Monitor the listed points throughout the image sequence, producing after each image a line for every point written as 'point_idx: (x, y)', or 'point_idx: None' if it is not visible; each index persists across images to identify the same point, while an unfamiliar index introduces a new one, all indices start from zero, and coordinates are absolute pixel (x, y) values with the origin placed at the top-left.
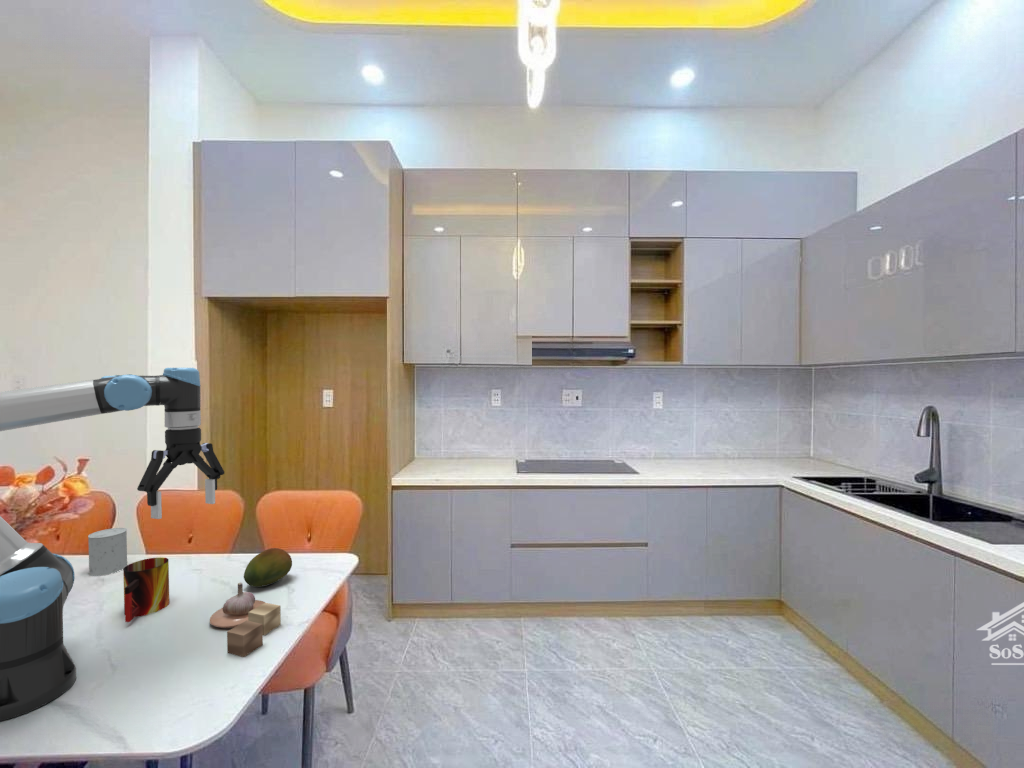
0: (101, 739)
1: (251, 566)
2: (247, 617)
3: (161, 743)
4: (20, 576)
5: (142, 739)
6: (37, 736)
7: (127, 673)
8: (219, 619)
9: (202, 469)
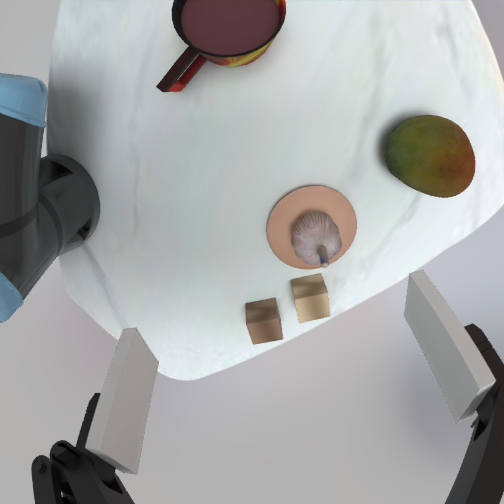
0: (121, 332)
1: (408, 161)
2: None
3: None
4: None
5: None
6: (79, 288)
7: (146, 250)
8: (281, 227)
9: (459, 495)
